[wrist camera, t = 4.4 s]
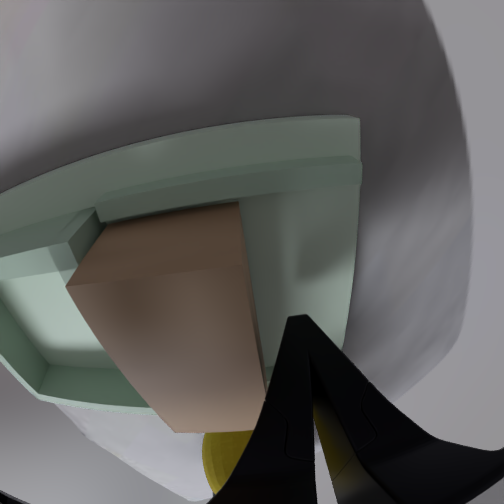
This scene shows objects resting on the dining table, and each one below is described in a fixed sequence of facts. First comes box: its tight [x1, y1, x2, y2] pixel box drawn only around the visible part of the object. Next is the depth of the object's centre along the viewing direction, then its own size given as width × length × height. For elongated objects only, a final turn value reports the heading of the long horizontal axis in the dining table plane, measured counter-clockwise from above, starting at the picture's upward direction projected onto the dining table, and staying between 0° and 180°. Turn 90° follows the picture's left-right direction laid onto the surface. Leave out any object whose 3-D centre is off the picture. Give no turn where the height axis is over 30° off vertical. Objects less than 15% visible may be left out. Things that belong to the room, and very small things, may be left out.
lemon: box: [202, 430, 253, 494], centre depth 12 cm, size 6×6×8 cm
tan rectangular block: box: [65, 201, 268, 433], centre depth 9 cm, size 8×4×3 cm, turn 7°
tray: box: [0, 115, 362, 415], centre depth 10 cm, size 12×17×3 cm
